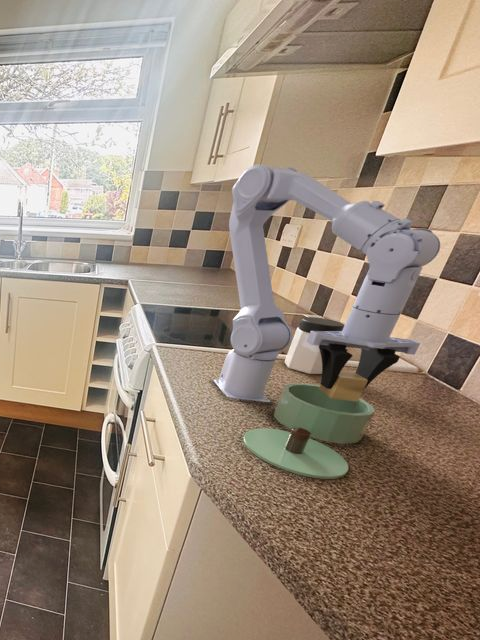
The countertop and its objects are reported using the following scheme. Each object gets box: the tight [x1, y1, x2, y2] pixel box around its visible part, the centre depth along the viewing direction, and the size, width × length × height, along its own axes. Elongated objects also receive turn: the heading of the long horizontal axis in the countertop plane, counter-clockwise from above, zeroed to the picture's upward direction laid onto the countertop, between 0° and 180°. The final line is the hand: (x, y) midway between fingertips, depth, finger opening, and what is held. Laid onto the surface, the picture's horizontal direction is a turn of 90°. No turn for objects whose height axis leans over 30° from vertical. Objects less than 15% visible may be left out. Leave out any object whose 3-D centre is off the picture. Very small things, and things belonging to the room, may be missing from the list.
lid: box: [242, 427, 350, 480], centre depth 66 cm, size 14×14×5 cm
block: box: [319, 369, 368, 402], centre depth 71 cm, size 4×4×4 cm
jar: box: [284, 316, 345, 375], centre depth 101 cm, size 9×8×12 cm
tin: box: [273, 382, 376, 445], centre depth 74 cm, size 13×13×6 cm
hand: (340, 388), depth 71 cm, fingers closed on block, 4 cm apart
